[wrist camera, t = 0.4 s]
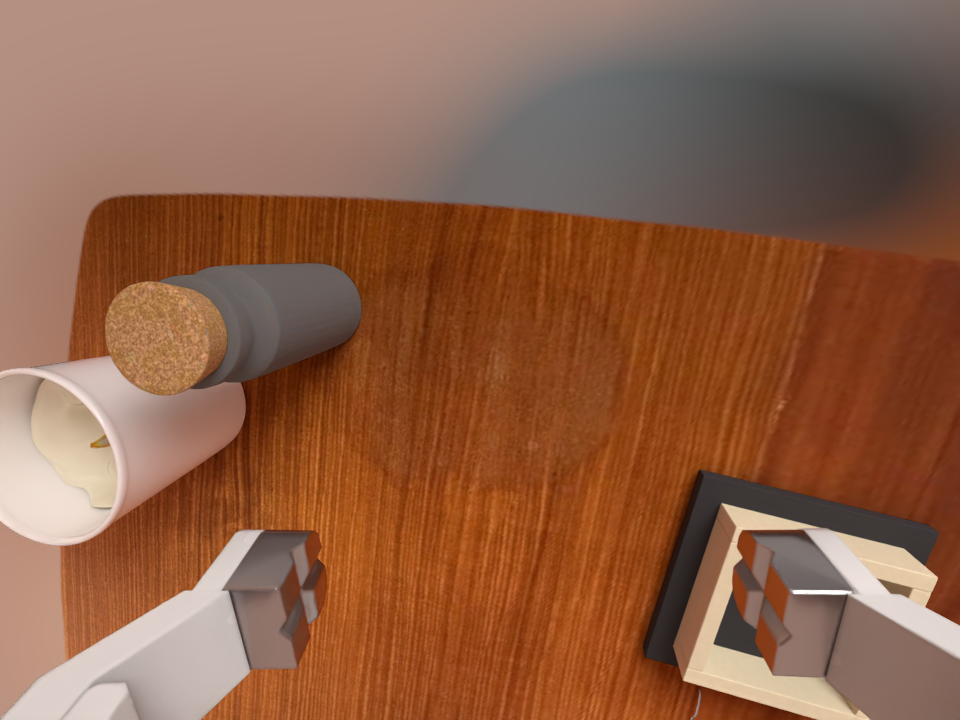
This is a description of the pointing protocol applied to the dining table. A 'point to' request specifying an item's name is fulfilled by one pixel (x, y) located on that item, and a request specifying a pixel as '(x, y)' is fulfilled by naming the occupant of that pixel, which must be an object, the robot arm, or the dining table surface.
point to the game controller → (697, 705)
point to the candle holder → (99, 445)
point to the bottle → (228, 324)
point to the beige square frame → (710, 600)
